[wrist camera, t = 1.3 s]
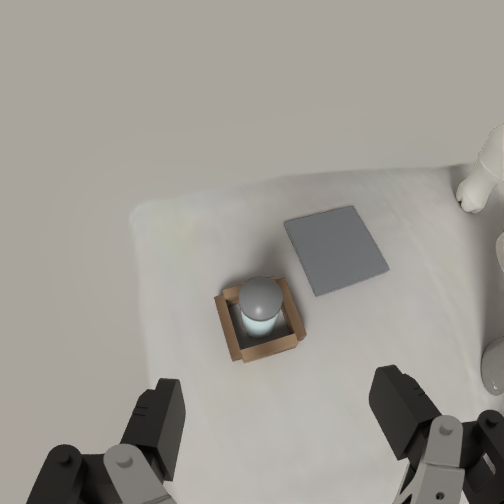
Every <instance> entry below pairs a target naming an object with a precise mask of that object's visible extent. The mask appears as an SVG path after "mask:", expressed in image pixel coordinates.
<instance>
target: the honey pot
mask: <svg viewBox="0 0 504 504" xmlns="http://www.w3.org/2000/svg"><path fill="white" fill-rule="evenodd" d="M496 254H497V258H498V261H499V264H500V266H501V268H502V270H503V272H504V232H503V233H502V234H501V235H500V236H499V237H498V239H497V240H496Z"/></svg>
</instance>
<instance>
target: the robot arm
mask: <svg viewBox="0 0 504 504" xmlns="http://www.w3.org/2000/svg"><path fill="white" fill-rule="evenodd" d="M481 372H482V379H483V383H484V385H485V387H486V389H487V390H488V391H489V392H490V393H491V394H493V395H499V394H503V393H504V336H503V337H501V338H499V339H497V340H495V341H493V342H491V343H490V344H489V345H488V346H487V348H486V350H485V352H484V355H483V358H482V364H481ZM369 404H370V407H371V409H372V411H373V413H374V415H375V417H376V419H377V421H378V423H379V425H380V427H381V429H382V431H383V433H384V435H385V436H386V438H387V440H388V442H389V444H390V446H391V448H392V450H393V452H394V454H395V456H396V458H397V460H401V459H404V458H407V457H408V459H409V463H408V464H407V467H406V470H405V473H404V476H403V479H402V481H401V484H400V487H399V490H398V492H397V495H396V497H395V499H394V501H393V503H392V504H459V502H460V497H461V492H462V490H463V492H464V494H465V496H466V498H467V500H468V502H469V504H504V417H503V416H502V415H501V414H500V413H499V412H497V411H494V410H486V411H483V412H482V413H481V414H480V415H479V417H478V419H477V420H476V421H472V422H464V423H461V422H460V421H459V420H458V419H457V418H455V417H453V416H449V415H442V414H441V413H440V412H439V410H438V409H437V408H436V406H435V405H434V404H433V402H432V401H431V400H430V398H429V397H428V396H427V395H426V394H425V392H424V391H423V389H422V388H420V386H419V384H418V383H417V382H416V380H415V379H413V378H412V377H410V376H409V375H407V374H402V373H401V372H400V370H399V369H398V368H397V366H396V365H389V366H384V367H378V368H377V369H376V371H375V375H374V379H373V382H372V386H371V390H370V393H369ZM185 414H186V412H185V404H184V399H183V395H182V390H181V385H180V381H179V379H167V378H160V379H159V381H158V383H157V386H156V389H155V390H151V389H147V390H146V391H145V392H144V393H143V394H142V395H141V396H140V397H139V399H138V401H137V403H136V406H135V408H134V410H133V413H132V416H131V418H130V420H129V423H128V425H127V427H126V430H125V432H124V435H123V437H122V439H121V442H120V444H118V445H115V446H113V447H111V448H109V449H108V450H107V452H106V453H105V454H91V455H89V454H81V453H80V452H79V450H78V449H77V448H75V447H74V446H71V445H66V444H63V445H58V446H56V447H54V448H53V449H52V450H51V451H50V452H49V454H48V456H47V458H46V460H45V462H44V464H43V466H42V468H41V471H40V473H39V475H38V477H37V479H36V482H35V484H34V486H33V488H32V491H31V493H30V495H29V498H28V500H27V503H26V504H177V503H176V502H175V501H174V499H173V498H172V497H171V496H170V495H169V494H168V492H167V491H166V490H165V488H164V487H163V481H164V480H165V481H172V482H173V477H174V472H175V467H176V462H177V457H178V451H179V447H180V442H181V437H182V432H183V427H184V422H185ZM485 453H487V455H488V456H489V458H490V460H491V461H492V463H493V464H494V466H495V469H496V472H495V475H493V473H492V471H491V470H490V468H489V466H488V465H487V463H486V462H485V460H484V458H483V456H484V455H485Z"/></svg>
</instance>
